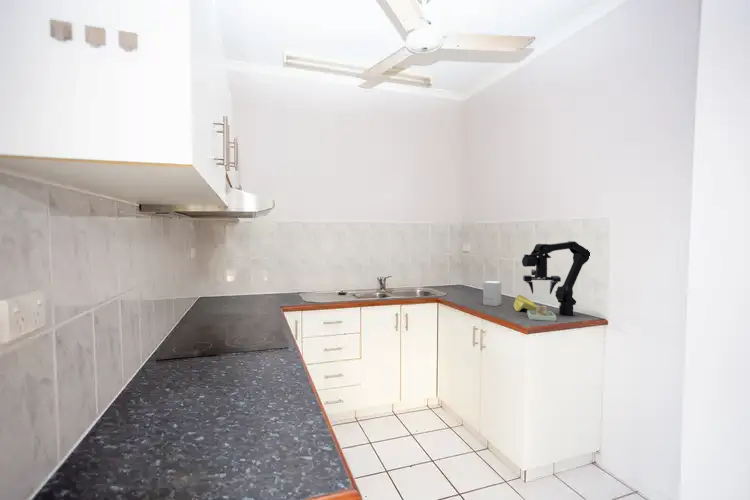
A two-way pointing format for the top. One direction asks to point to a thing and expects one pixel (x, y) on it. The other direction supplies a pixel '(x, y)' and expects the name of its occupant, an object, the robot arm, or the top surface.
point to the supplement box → (492, 293)
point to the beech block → (540, 310)
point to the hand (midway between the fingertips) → (541, 293)
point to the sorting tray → (549, 316)
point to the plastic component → (523, 304)
